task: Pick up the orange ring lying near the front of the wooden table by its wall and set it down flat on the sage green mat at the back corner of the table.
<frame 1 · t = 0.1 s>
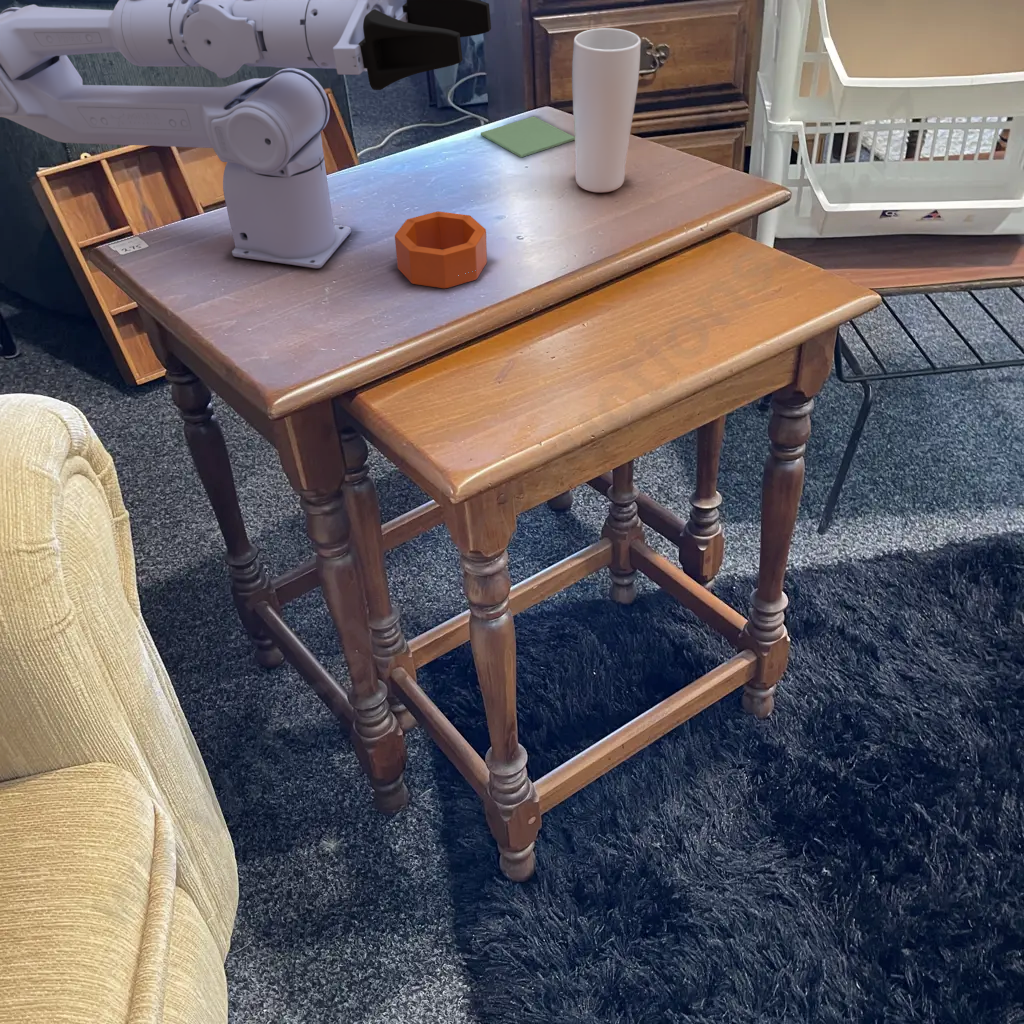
hand: (475, 32, 79), 22 cm above the table, tool horizontal, fingers open, 7 cm apart
ring: (442, 265, 95), on the table
drinking glass: (599, 185, 108), on the table
mat: (527, 137, 117), on the table
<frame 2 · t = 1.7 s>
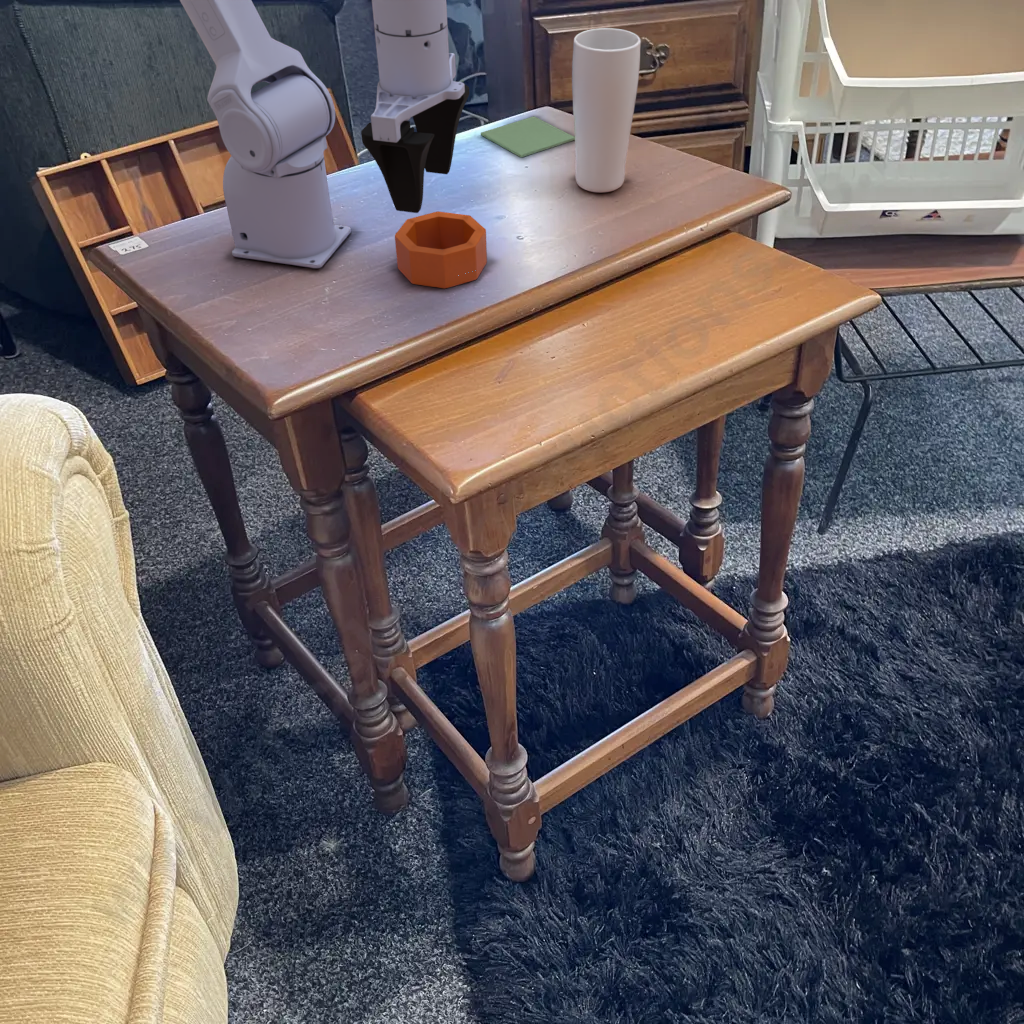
hand: (423, 190, 86), 9 cm above the table, tool pointing down, fingers open, 7 cm apart
nothing on the table moved.
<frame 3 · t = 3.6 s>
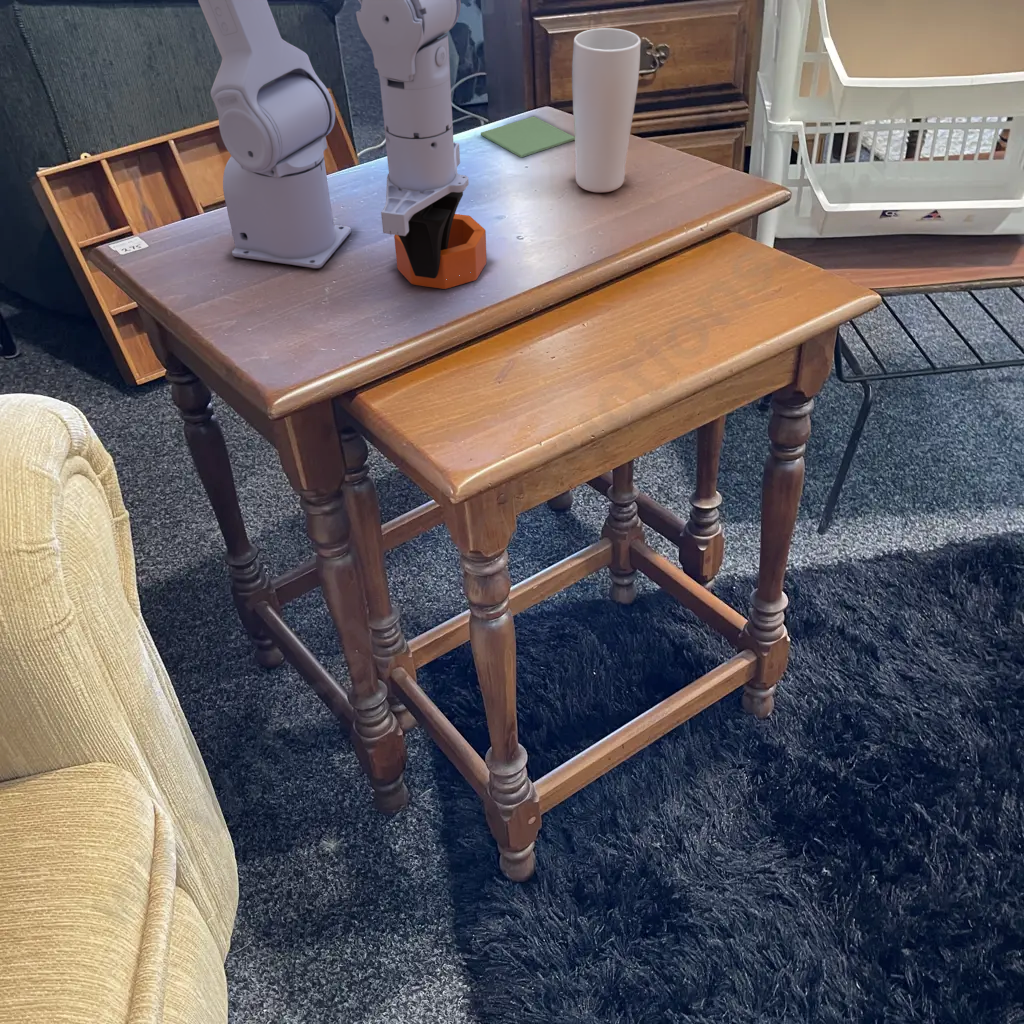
hand: (429, 270, 92), 1 cm above the table, tool pointing down, fingers closed on ring
ring: (442, 266, 95), on the table, touching gripper
everything else where it was.
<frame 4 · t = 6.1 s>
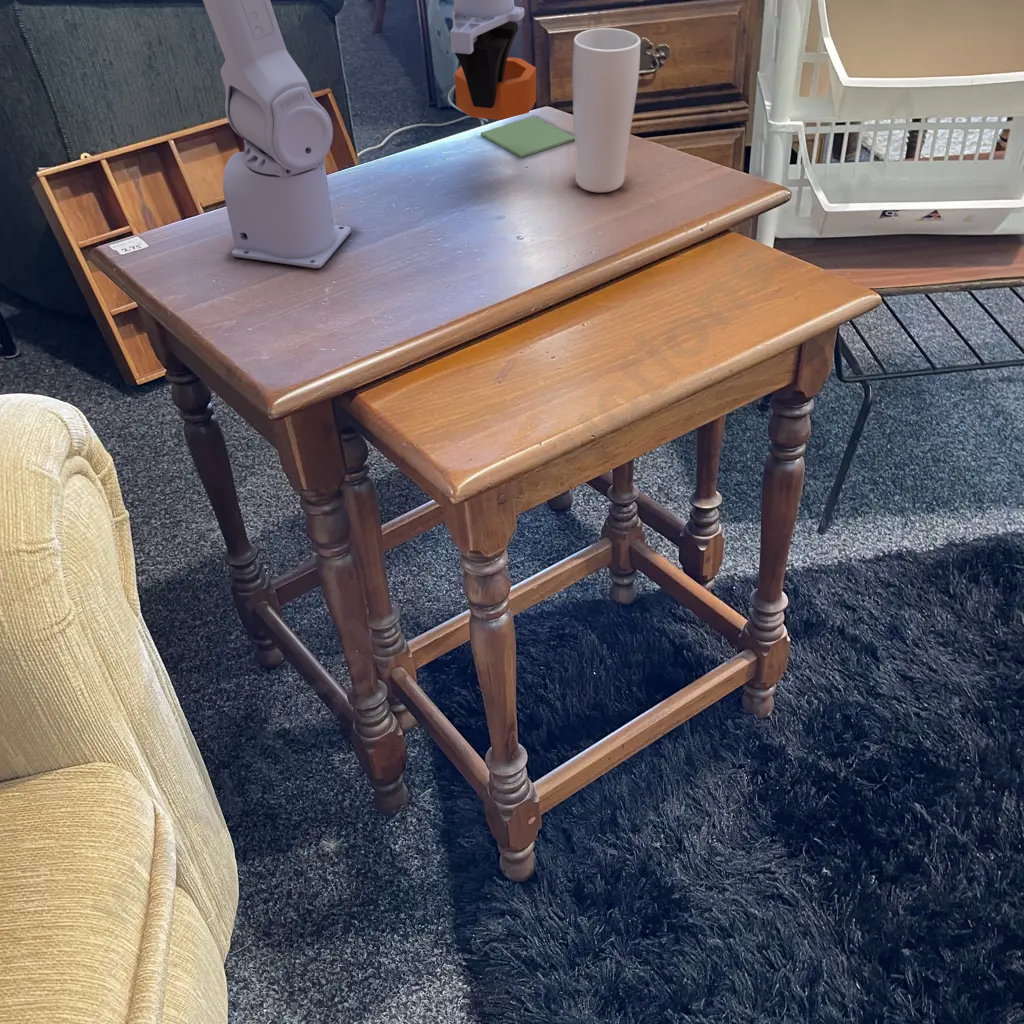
hand: (486, 102, 102), 8 cm above the table, tool pointing down, fingers closed on ring
ring: (496, 104, 106), point 7 cm above the table, touching gripper
everything else where it was.
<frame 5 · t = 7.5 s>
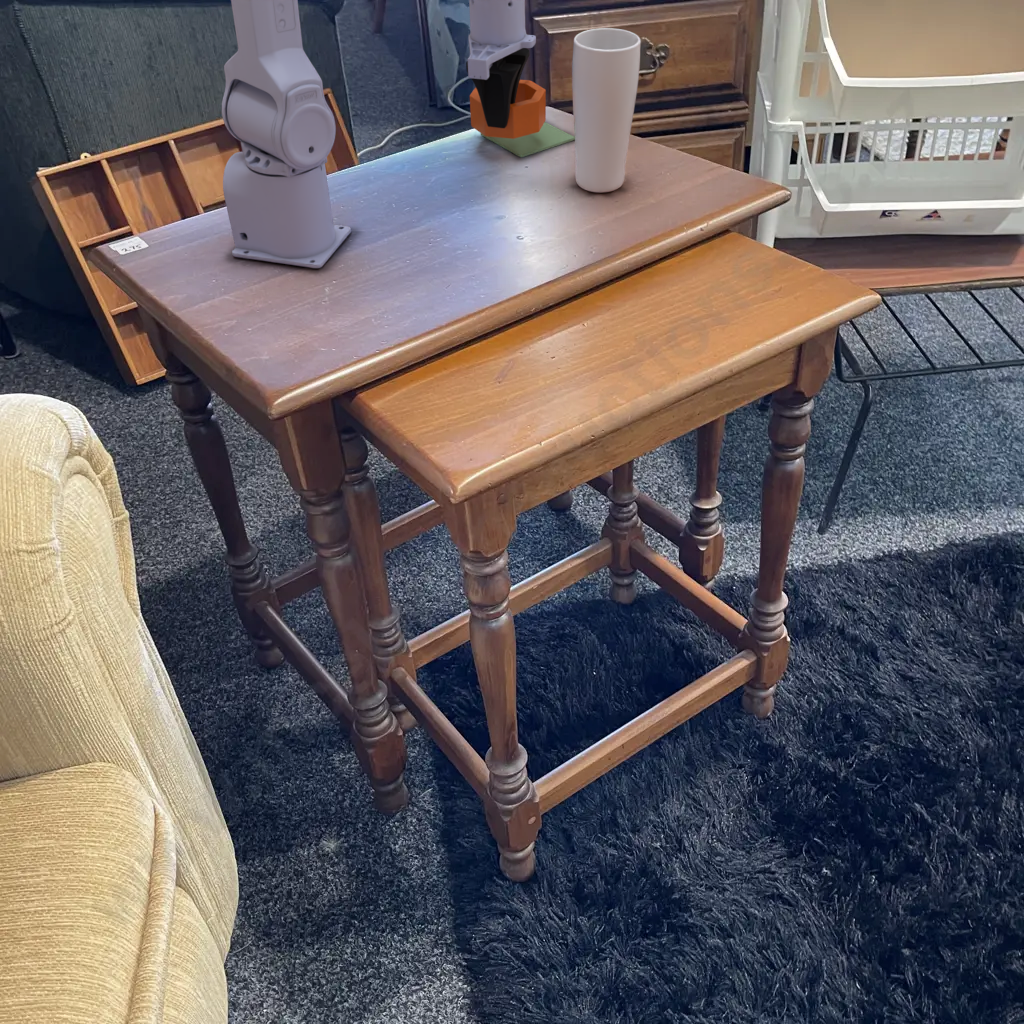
hand: (499, 123, 110), 4 cm above the table, tool pointing down, fingers closed on ring
ring: (508, 123, 113), point 3 cm above the table, touching gripper
everything else where it was.
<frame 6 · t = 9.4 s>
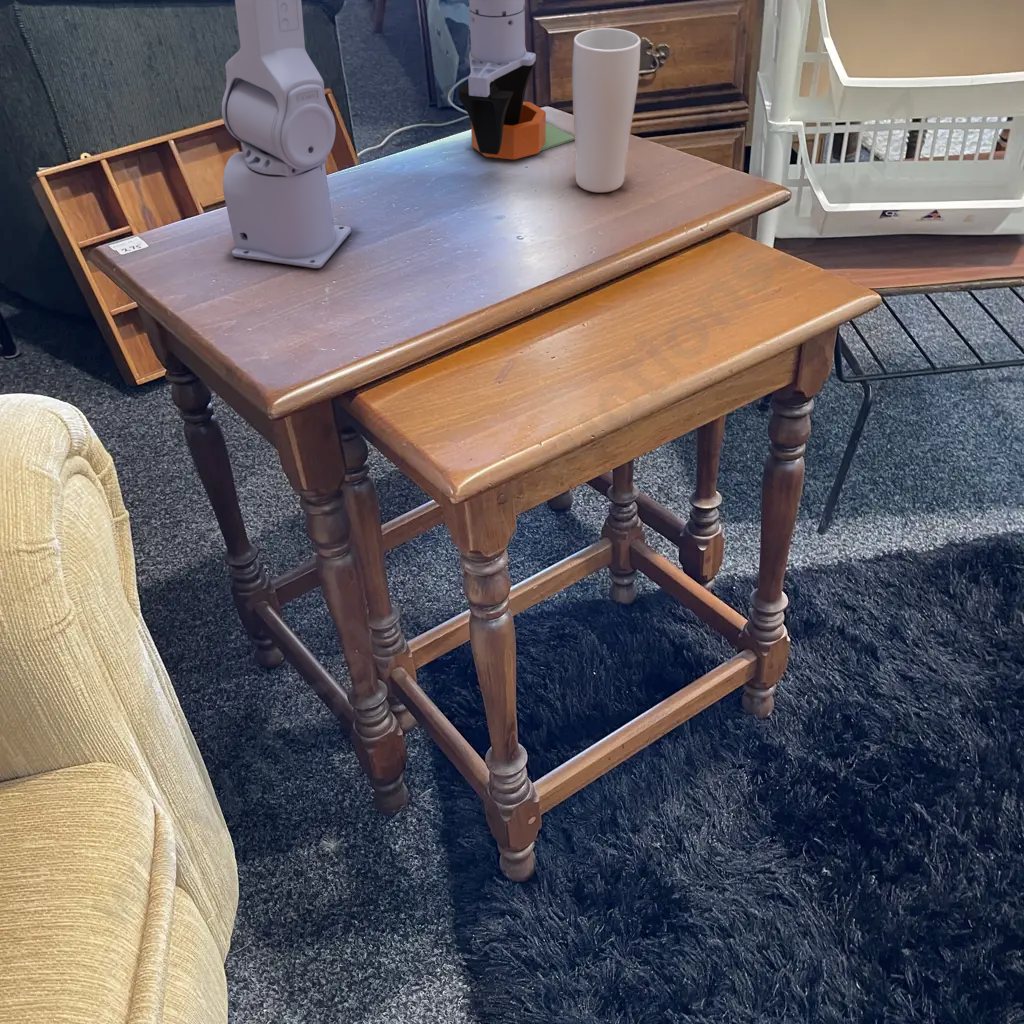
hand: (499, 138, 111), 2 cm above the table, tool pointing down, fingers open, 7 cm apart
ring: (508, 144, 115), on the table, touching mat
everything else where it was.
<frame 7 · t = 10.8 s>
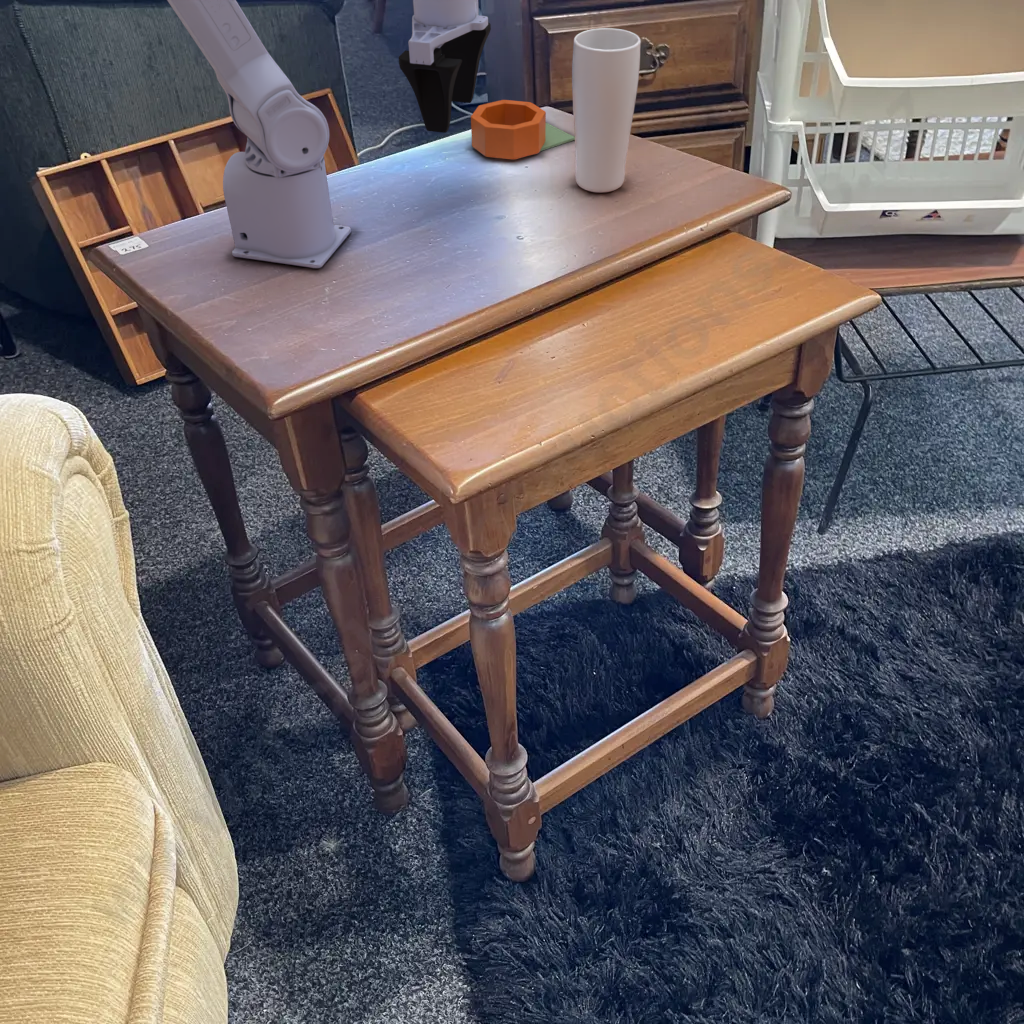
hand: (449, 115, 98), 9 cm above the table, tool pointing down, fingers open, 7 cm apart
nothing on the table moved.
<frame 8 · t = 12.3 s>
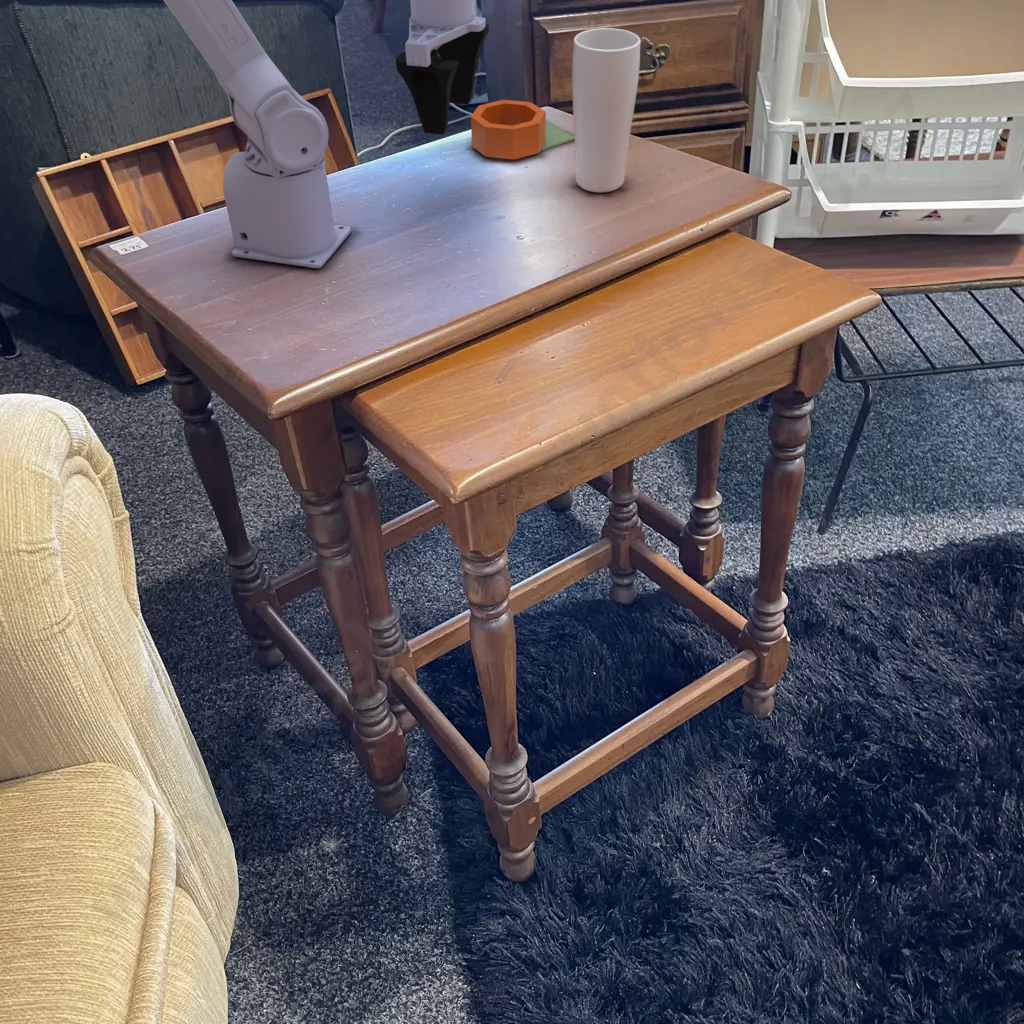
hand: (447, 117, 98), 9 cm above the table, tool pointing down, fingers open, 7 cm apart
nothing on the table moved.
at the end: ring 0.4 cm from the target spot on the mat, point 0.3 cm above the mat's base; ring tilted 0°; the gripper is holding nothing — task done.
